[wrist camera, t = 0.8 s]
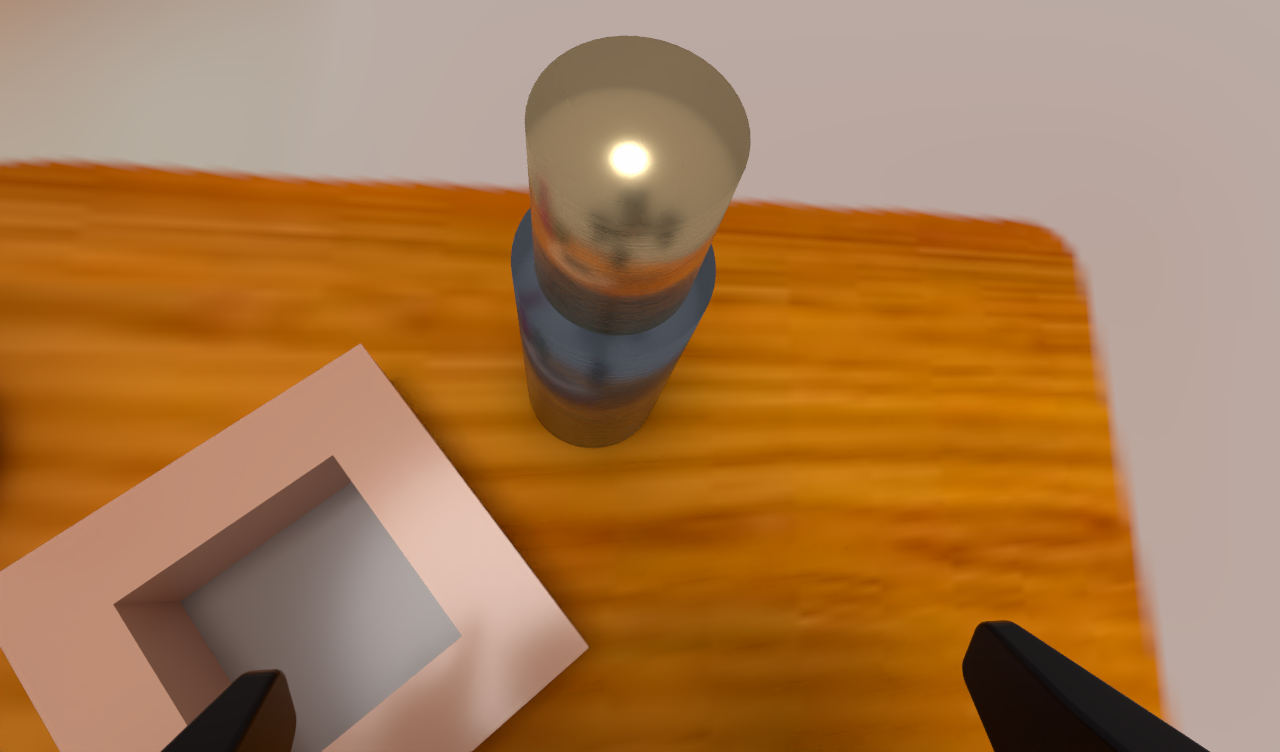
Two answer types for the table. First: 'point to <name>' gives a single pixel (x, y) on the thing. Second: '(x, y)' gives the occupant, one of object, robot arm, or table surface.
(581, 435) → the tube
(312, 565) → the socket block
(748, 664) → the table surface
